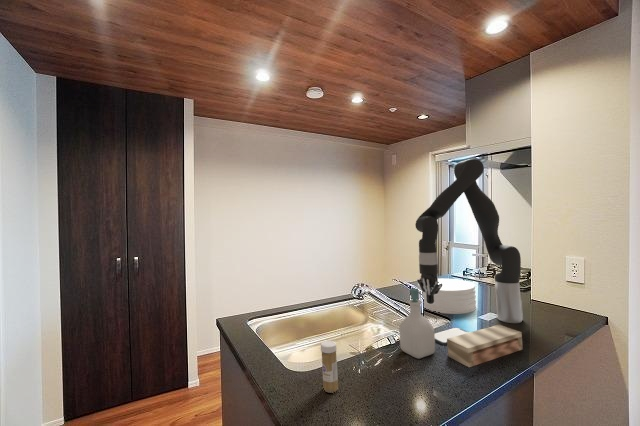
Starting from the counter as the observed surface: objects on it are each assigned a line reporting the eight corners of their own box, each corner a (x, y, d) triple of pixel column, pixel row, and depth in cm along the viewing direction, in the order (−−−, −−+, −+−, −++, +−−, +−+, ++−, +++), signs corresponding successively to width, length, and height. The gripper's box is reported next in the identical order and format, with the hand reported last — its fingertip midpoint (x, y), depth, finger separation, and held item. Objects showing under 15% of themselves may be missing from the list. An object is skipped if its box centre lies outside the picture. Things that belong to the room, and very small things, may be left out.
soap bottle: (418, 361, 97) (414, 293, 98) (398, 351, 106) (394, 288, 106) (438, 354, 102) (434, 289, 102) (417, 344, 110) (413, 284, 111)
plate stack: (410, 308, 154) (409, 286, 154) (429, 295, 175) (428, 276, 175) (468, 317, 136) (466, 293, 136) (481, 302, 157) (480, 281, 157)
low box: (499, 340, 110) (498, 324, 110) (522, 349, 102) (521, 332, 102) (447, 356, 100) (446, 338, 100) (469, 367, 92) (467, 348, 92)
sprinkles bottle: (319, 391, 84) (317, 344, 84) (329, 383, 87) (327, 338, 88) (332, 396, 81) (329, 348, 81) (341, 388, 84) (339, 342, 85)
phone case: (444, 347, 108) (474, 338, 114) (443, 343, 108) (474, 333, 114) (427, 339, 116) (456, 330, 122) (426, 335, 116) (456, 326, 122)
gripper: (446, 263, 120) (449, 305, 120) (424, 260, 133) (426, 298, 132) (432, 265, 117) (435, 308, 117) (411, 261, 130) (412, 300, 129)
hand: (430, 303), depth 125 cm, fingers closed
